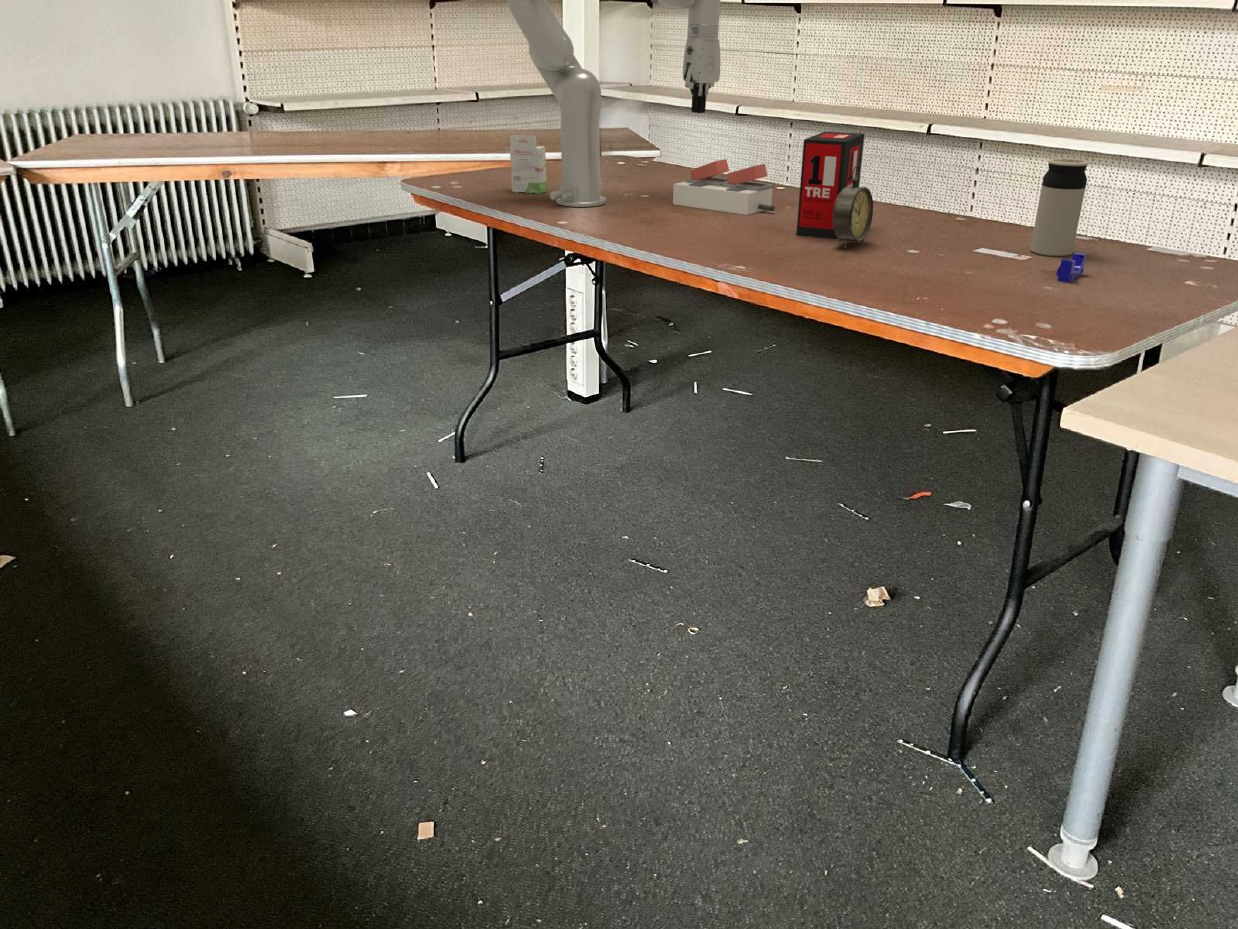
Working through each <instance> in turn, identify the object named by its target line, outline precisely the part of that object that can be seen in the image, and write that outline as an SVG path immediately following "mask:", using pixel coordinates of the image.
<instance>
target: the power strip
mask: <svg viewBox="0 0 1238 929" xmlns="http://www.w3.org/2000/svg"><path fill="white" fill-rule="evenodd" d="M773 188H774V184H772V183H763V182H756V181H748V182H744V183H740V184H736V185H733V184H729V181H728V178H723V177H722V178H721V177H715V176H714V177H711V178H708V179H705V180H693V179H692V177H689V178H685V181H681V182H677V183H673V189H672V190H673V191H672V192H673V195H672V199H673V200H672V204H673V205H675V206H681V207H689V208H695V209H703V210H710V211H718V212H722V213H723V212H724V213H730V214H737V215H744V216H745V215H746V216H749V215H753V214H756V213H760V212H764V211H770V212H775V211H776V206H775V205H772V200H773Z"/></svg>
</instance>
